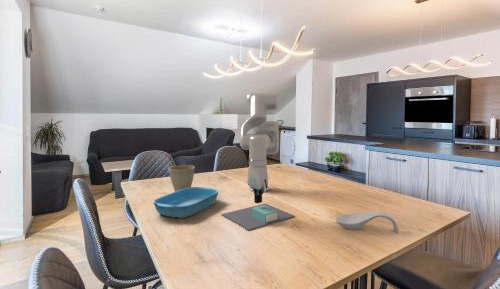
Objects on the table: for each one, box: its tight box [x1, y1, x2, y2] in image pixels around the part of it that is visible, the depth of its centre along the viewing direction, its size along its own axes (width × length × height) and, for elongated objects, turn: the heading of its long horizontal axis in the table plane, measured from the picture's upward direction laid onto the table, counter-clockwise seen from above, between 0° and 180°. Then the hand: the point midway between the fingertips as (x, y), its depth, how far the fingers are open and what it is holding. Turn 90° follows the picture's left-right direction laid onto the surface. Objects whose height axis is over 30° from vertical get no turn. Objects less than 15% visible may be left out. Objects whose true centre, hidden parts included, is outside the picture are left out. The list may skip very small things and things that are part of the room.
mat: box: [221, 203, 296, 232], centre depth 133 cm, size 22×26×1 cm
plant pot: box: [168, 164, 196, 192], centre depth 170 cm, size 15×15×16 cm
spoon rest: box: [335, 211, 399, 234], centre depth 118 cm, size 24×12×7 cm, turn 74°
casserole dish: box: [152, 186, 219, 219], centre depth 145 cm, size 37×22×7 cm, turn 155°
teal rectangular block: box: [252, 205, 278, 223], centre depth 128 cm, size 4×7×10 cm
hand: (258, 202), depth 132 cm, fingers closed
